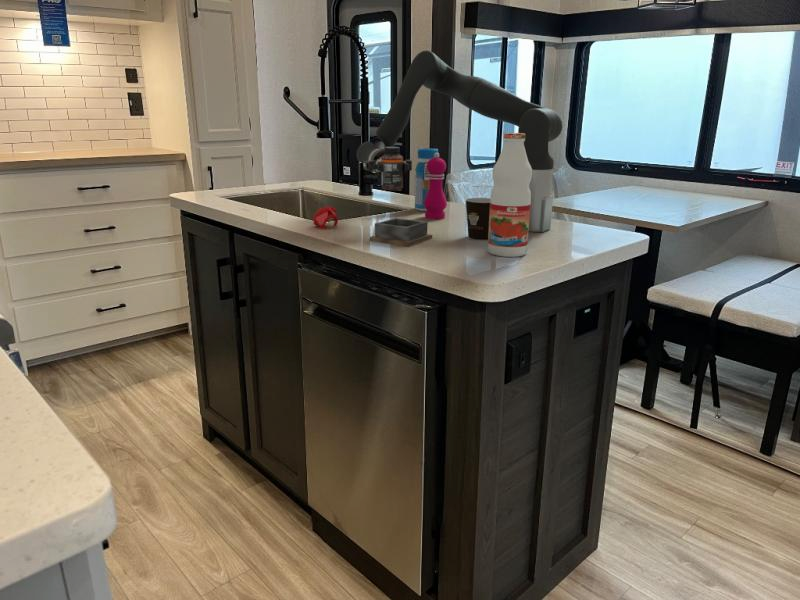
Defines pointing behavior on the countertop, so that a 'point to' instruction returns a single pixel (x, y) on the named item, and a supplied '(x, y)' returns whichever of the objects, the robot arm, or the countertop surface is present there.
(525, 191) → the fruit juice
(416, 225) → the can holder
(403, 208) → the countertop surface
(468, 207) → the coffee mug
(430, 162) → the pepper mill
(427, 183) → the beverage bottle
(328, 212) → the red toy crab
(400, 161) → the supplement bottle
